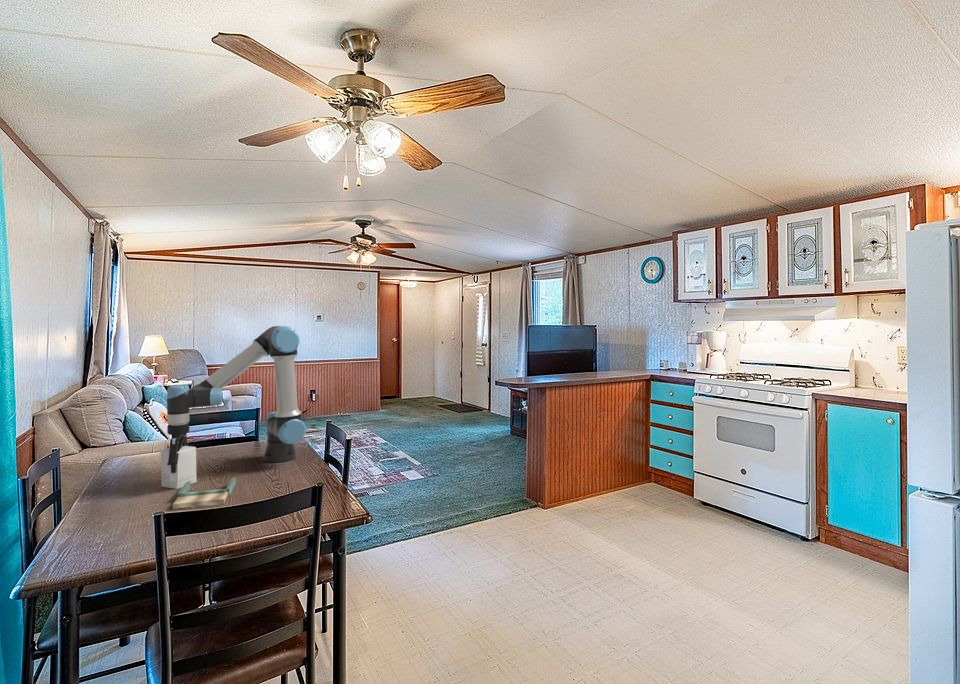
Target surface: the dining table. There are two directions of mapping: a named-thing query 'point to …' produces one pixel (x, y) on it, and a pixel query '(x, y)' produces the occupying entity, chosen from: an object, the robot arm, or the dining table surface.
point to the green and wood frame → (202, 496)
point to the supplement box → (179, 467)
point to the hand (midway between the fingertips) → (179, 475)
